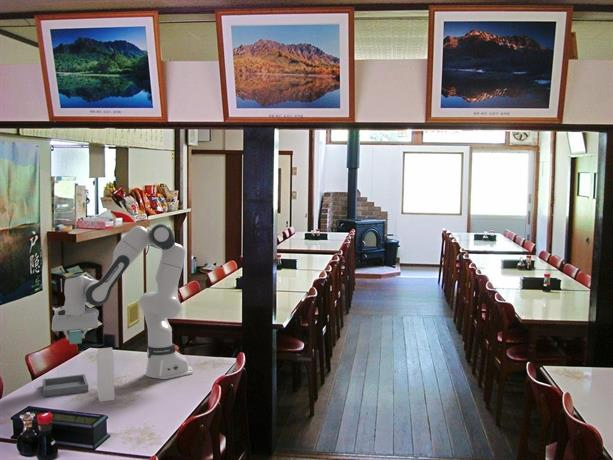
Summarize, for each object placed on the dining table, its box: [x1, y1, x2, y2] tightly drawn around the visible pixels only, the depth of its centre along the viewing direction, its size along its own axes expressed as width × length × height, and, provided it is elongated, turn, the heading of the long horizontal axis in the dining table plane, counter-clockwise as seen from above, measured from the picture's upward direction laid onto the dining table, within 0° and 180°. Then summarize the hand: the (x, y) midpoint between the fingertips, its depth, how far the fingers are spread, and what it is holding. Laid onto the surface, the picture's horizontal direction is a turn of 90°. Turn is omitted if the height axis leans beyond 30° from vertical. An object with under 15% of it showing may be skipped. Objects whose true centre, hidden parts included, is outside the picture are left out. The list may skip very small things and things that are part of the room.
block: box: [68, 329, 83, 345], centre depth 284 cm, size 5×5×5 cm
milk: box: [96, 347, 115, 403], centre depth 261 cm, size 6×6×22 cm
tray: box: [42, 373, 89, 398], centre depth 273 cm, size 18×16×3 cm
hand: (75, 338), depth 284 cm, fingers closed on block, 5 cm apart
